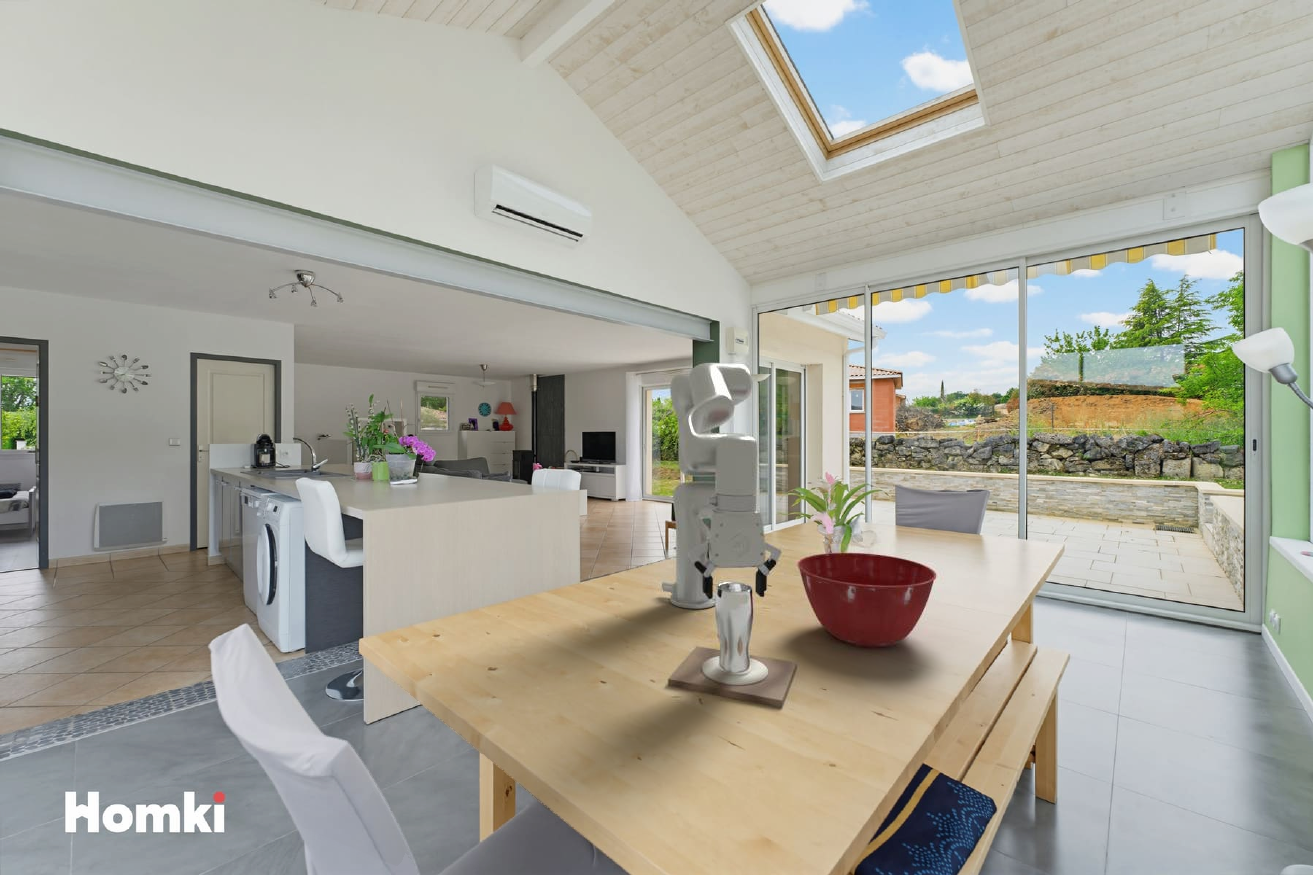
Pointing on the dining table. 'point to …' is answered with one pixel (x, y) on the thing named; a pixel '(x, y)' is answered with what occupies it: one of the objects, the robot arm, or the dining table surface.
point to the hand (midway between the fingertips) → (734, 595)
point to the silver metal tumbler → (734, 626)
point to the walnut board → (735, 678)
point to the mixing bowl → (866, 595)
